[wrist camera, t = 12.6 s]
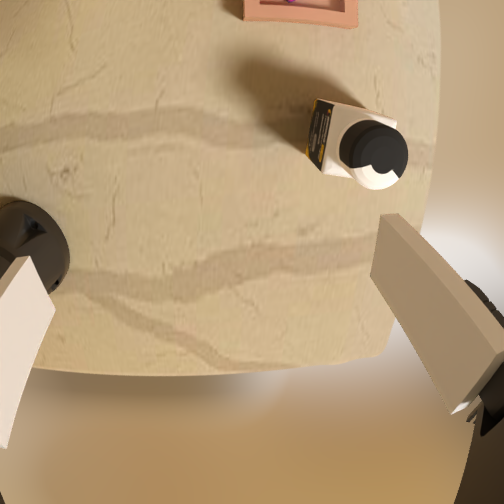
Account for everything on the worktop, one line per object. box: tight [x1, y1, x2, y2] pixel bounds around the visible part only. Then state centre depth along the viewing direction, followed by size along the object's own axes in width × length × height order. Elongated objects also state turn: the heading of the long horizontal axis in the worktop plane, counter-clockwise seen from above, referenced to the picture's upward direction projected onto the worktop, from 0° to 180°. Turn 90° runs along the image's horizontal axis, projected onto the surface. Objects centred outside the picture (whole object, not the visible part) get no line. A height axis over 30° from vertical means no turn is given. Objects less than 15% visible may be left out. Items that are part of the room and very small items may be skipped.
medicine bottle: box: [306, 99, 408, 190], centre depth 29 cm, size 7×7×12 cm
